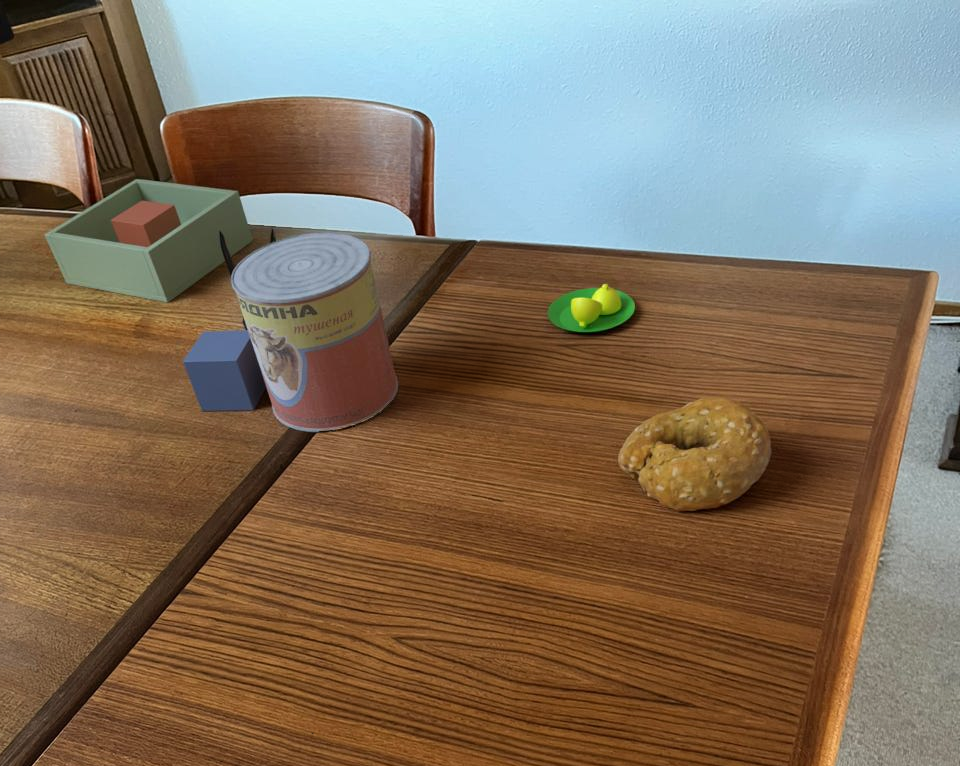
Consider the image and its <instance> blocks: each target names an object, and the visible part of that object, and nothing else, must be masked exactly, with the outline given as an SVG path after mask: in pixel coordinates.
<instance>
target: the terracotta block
mask: <svg viewBox="0 0 960 766" xmlns="http://www.w3.org/2000/svg"><path fill="white" fill-rule="evenodd" d="M111 222H112V225H113V227H114V230H115V232H116V235H117V237H118V240H119V242H120V243H124V244H130V245H136V246H142V247H147V248H148V247H149V246H151V245H152V244H154V243H155V242H157V241H158V240H160V239H161V238H163V237H164V236H166V235H167V234H169V233H170V232H172V231H173V230H175V229H176V228H178V227H179V226H181V222H180V220H179V217H178V214H177V211H176V208H175V205H171V204H163V203H156V202H148V201H140V202H139V203H137V204H136V205H134V206H132V207H131V208H129V209H128V210H126V211H124V212H123V213H121V214H120V215H118V216H116V217H115V218H113V219H112V220H111Z"/></svg>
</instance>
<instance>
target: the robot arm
mask: <svg viewBox="0 0 960 766" xmlns="http://www.w3.org/2000/svg"><path fill="white" fill-rule="evenodd" d="M14 39H15V33H14V31H13V27H12V26H11V22H10V21H9V18H8V15H7V13H6V10H5V7H4V5H3V3H2V0H0V45H2V44H5V43H8V42H10V41H13V40H14Z"/></svg>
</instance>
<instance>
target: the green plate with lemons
mask: <svg viewBox="0 0 960 766" xmlns="http://www.w3.org/2000/svg"><path fill="white" fill-rule="evenodd" d="M635 309H636V304H635V301H634V299H633V298H632V297H631V296H630V295H628V294H626V293H625V292H623V291H621V290H617V289H614V288H613V287H611V286H609V284H608V283H603V284H602V285H601V287H589V288H582V289H577V290H573V291H570V292H567V293H565V294H563V295H561V296H559V297H557V298H556V299H555V300H554V301H552V303H551V304H550V305H549V306H548V308H547V317H548V319H549V321H550V322H551V323H552V324H553V325H554V326H556V327H558V328H560V329H562V330H565V331H570V332H577V333H595V332H601V331H606V330H608V329H613V328H614V327H617V326H619V325H621V324H623V323H625V322H626V321H627V320H628V319H630V318H631V317H632V316H633V314H634V313H635Z"/></svg>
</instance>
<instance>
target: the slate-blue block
mask: <svg viewBox="0 0 960 766" xmlns="http://www.w3.org/2000/svg"><path fill="white" fill-rule="evenodd" d="M182 364H183V366H184V368H185V371H186V373H187V376H188V379H189V381H190V384H191V387H192V389H193V392H194V395H195V398H196V400H197V402H198V404H199V407H200V410H201V412H233V411H236V412H237V411H238V412H239V411H254V410H255V409H256V408H257V405H258V403H260V400H261V398H262V396H263V395H264V393H265V391H266V390H267V387H266V384H265V381H264V378H263V375H262V372H261V369H260V366H259V363H258V360H257V357H256V353H255V350H254V347H253V344H252V341H251V338H250V335H249V332H248V330H245V329H241V330H240V329H237V330H235V329H234V330H209V331H205V330H203V331H202V332H201V334H200V335H199V337H198V339H196V341H195V343H194V344H193V346H192V347H191V349H190V350H189V351H188V353H187V354H186V356H185V358H184V359H183V361H182Z"/></svg>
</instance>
